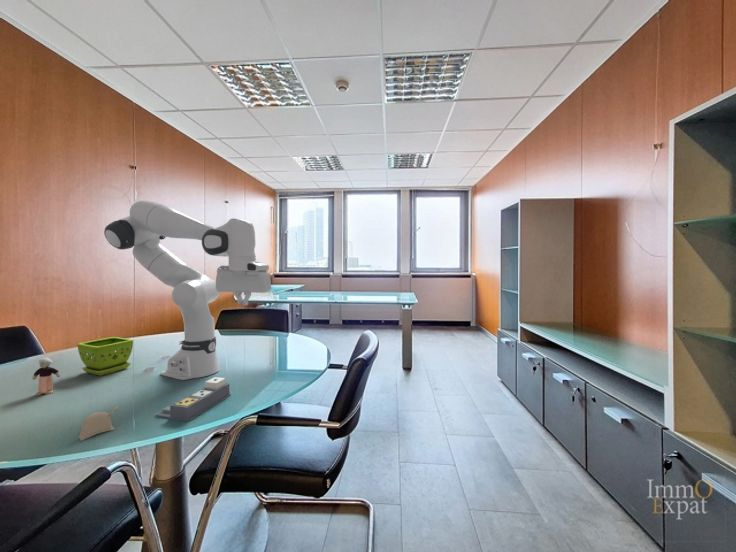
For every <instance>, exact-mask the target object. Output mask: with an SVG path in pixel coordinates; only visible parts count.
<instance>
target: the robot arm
mask: <svg viewBox="0 0 736 552" xmlns="http://www.w3.org/2000/svg"><path fill="white" fill-rule="evenodd" d="M103 234H104V237H105V239H106V241H107V242H108V243H109V244H110V245H111V246H112V247H114V248H115V249H118V250H122V251H123V250H129V249H131V248H133V249H132V255H133V257H134V258H135V259H136V261H137V262H138V263H139V264H140V265H141V266H142V267H143V268H144V269H146V271H148V272H149V273H150V274H152V275H153V276H154V277H156V279H158V280H159V281H160V282H162V283H163V284H164V285H166V286H169V287H172V288H173V289H172V292H171V299H172V301H173V303H174V304H175V305H176V306H178V308H179V312H180V313H181V315H182V320H183V334H184V339H183V340H182V341H180V342H179V344H178V345H181V347H180V349H179V350H177V351H176V352H175V353H174V354H173V355H171V356H170V357H169V358H168V361H167V366H166V368H165V369H163V370H162V371H160V375H161V376H164V377H169V378H172V379H176V380H180V381H185V380H186V381H187V380H190V379H197V378H203V377H207V376H211V375H214V374H216V373H218V372H219V371H220V370H221V367H220V365H219V361H218V357H217V351H216V350H217V349H216V347H217V337H216V333H215V331H216V330H215V317H214V316H212V314H211V310H210V307H209V304H211V303H213V302H214V301H216V300H217V299H218V298H219V297H220V295H221V294H222V292H223V293H224V292H225V293H228V292H229V293H234V296H235V298H236V299H237V300H236V301H237V305H238V306H248V305H249V300H250V298H251V296H252V293H254V294H255V293H256V294H257V293H259V294H265V293H269V292H270V291H271V289H272V280H271V273H270V272H269V270H270V266H269V264H267V263H264V262H262V261H259V260H257V259H256V253H255V252H256V251H255V248H256V232H255V227H254V224H253V223H252V222H251V221H250V220H244V219H241V218H230V219H228V221H227V222H226V223H224V224H223V225H220V226H218V227H215V226H211V225H209V224H206V223H203V222H200V221H198V220H197V219H194V218H193V217H191V216H188V215H186V214H184V213H182V212H180V211H178V210H177V209H175V208H173V207H170V206H167V205H165V204H161V203H158V202H154V201H149V200H138V201H135V202H134V203H133V204H132V205H131V207H130V209H129V215H127V216H126V217H123V218H120V219H117V220H114V221H112V222H110V223H108V225H106V226H105V228H104V233H103ZM166 238H172V239H183V240H184V239H188V240H198V241H201V246H202V249H203V251H205V254H207V255H209V256H215V257H228V258H227V259H228V265H220V266H219V267H218V268H217V269H216V278H215V279H212V278H211V277H209V276H207V275H205V274H203V273H201V272H200V271H198V270H197V269H195V268H193V267H191V266H189V265H188V264H187V263H185V262H184V261H183V260H181V259H180V258H179V257H178V256H177V255H175V254H174V253H173V252H171V251H170V250H169V249H168V248H166V247H165V246H164V245H163V244H162V243H161V241H162V240H165V239H166ZM242 295H243V296H244V299H243V297H242Z"/></svg>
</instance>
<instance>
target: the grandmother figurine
mask: <svg viewBox="0 0 736 552" xmlns="http://www.w3.org/2000/svg"><path fill="white" fill-rule="evenodd" d="M38 363H39V367H40V368H38V369H37V370H36V371H35V372H34V373H33V376H32V378H31V380H33V381H34V380H36V379H37V378H38V391H37V392H36V393H35V395H34V396H40V395H43V393H44V395H51V394H53V393H54V392H53V391H54V390H53V389H54V381H53V380H54V379H53V375H55V376H56V378H60V377H61V374H60V372H59V370H58V369H57V368H54V367H52V366H50V365H51V364H53V360H52V358H51V359H50V357H46V356H45V357H41V358H39V360H38ZM38 376H39V377H38ZM52 392H53V393H52ZM50 393H51V394H50Z"/></svg>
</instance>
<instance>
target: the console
mask: <svg viewBox="0 0 736 552" xmlns="http://www.w3.org/2000/svg"><path fill="white" fill-rule="evenodd" d="M200 390H208V391H213V392H212V393H210V394H209V395H207V396H205V397H203V398H200V397H193V396H191V395H193V394H195V393H197V392H198V391H200ZM230 390H231V389H230V383H228V382H226V385H224V386H223V387H221V388H219V389H217V390H214V389H205V386H204V387H202V388H200V389H199V390H195V391H194V392H192V393H191V394H189V395H187V396H185V397H183V398H182V399H180V400H178V401H176V402H174V403H172V404H170V405H168V406H166V407H164V408H163V409H162V411H160V412H158V413H157V414H155V416H154V417H157V418H164V419H170V420H178V421H183V422H190V421H192V420H193V419H195V418H197V417H198V416H200V415H201V414H203V413H205V412H206V411H208V410H210V409H212V407H214V406H216V405H217V404H218V403H220V402H222V401H224V400H225V399H227V398H228V397H230V396H231V395H232V393H231V392H230ZM185 398H193V399H199V400H198V401H196V402H195V403H193V404H191V405H189V406H187V407H185V406H178V405H175V404H176V403H178V402H180V401H182V400H183V399H185Z"/></svg>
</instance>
